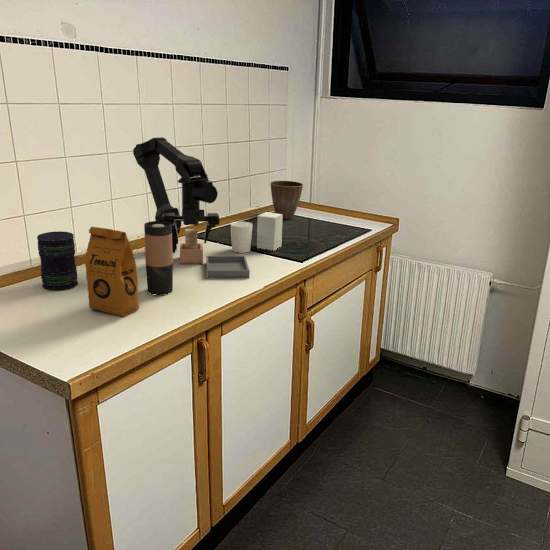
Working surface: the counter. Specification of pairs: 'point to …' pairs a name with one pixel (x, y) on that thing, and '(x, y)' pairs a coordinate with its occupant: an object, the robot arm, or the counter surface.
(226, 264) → the charcoal tray
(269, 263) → the counter surface
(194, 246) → the wooden peg
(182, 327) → the counter surface
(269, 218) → the supplement box
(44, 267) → the storage jar
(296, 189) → the plant pot
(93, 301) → the coffee package
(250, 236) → the white cup
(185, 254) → the pink open box
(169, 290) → the travel mug
